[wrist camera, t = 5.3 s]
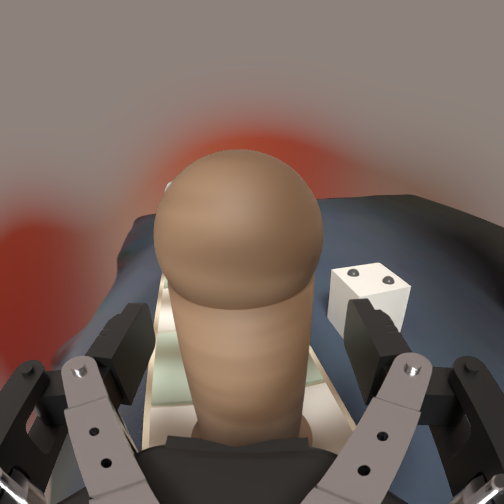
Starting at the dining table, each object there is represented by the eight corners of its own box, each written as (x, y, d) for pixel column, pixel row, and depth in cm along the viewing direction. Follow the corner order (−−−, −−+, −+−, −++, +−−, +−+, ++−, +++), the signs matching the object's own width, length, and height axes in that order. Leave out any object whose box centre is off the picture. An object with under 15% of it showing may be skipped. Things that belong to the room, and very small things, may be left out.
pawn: (235, 394, 17) (214, 147, 12) (327, 428, 14) (362, 149, 9) (171, 460, 12) (85, 167, 7) (275, 515, 9) (287, 156, 4)
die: (327, 318, 27) (332, 264, 25) (371, 308, 28) (379, 258, 26) (350, 349, 23) (360, 291, 21) (398, 336, 24) (411, 281, 22)
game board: (165, 270, 38) (164, 259, 38) (256, 260, 40) (255, 250, 40) (148, 529, 9) (139, 521, 9) (379, 486, 11) (387, 475, 11)
